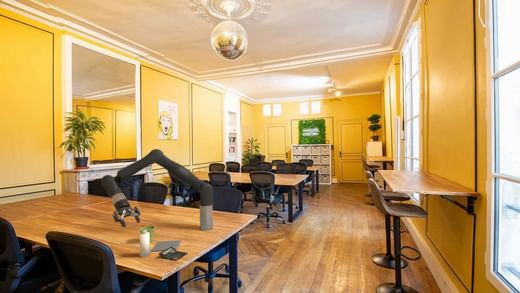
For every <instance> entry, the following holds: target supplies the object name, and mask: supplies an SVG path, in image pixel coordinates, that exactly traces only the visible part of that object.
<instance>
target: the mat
mask: <svg viewBox="0 0 520 293" xmlns="http://www.w3.org/2000/svg"><path fill="white" fill-rule="evenodd" d="M181 242H182V240H181V239H180V240H179V239H178V240H162V241H161V240H160V241H157V242H156V243H155V245H154V247H152V249H150V253H154V252H155V253H156V252H162V251H164V250H166V249H168V248H170V247H171V246H172V247H173V248H174V249H175V250H176V251H177V249H178V247H179V246H180V244H181Z"/></svg>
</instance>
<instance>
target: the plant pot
mask: <svg viewBox="0 0 520 293" xmlns="http://www.w3.org/2000/svg"><path fill="white" fill-rule="evenodd" d="M156 228H157V227H156V226H155V225H145V226H142V227H140V228H139V231H140V233H142V231H143V230H147V232H149V239H150V243H152V242H154V237H155V236H154V235H155V230H156Z"/></svg>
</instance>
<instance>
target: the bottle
mask: <svg viewBox="0 0 520 293" xmlns="http://www.w3.org/2000/svg"><path fill="white" fill-rule="evenodd" d="M138 238H139V257H140V258H147V257H149V256H150V255H151V254H150V253H151V249H150V243H151V242H150V239H149V232H147V230H143V231H142V233H141V232H140V233H139V236H138Z"/></svg>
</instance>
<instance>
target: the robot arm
mask: <svg viewBox="0 0 520 293" xmlns="http://www.w3.org/2000/svg"><path fill="white" fill-rule="evenodd" d="M153 164H156V165H158V166H160V167H162V168H164V169H165V171H167V172H168V173H170V174H171V175H172V176H173V177H174V178H176V179H178V180H179V181H180V182H183V183H185V184H186V185H188V186H191V187H192V188H193V189H194V190H196V191H197V192H198V193H199V194H200V195H199V196H200V197H199V199H200V200H199V229H200V231H210V230H213V228H214V214H213V203H214V202H213V201H214V188H213V185H212V184H210V183H208V182H205V181H204V180H202V179H200V178H199V177H197V176H196V175H195V174H194V173H193V172H192V171H191V170H189V169H188V168H187V167H185V166H183V165H182V164H180V163H178V162H176V161H175V160H172V159H171V158H169V157H168V156H167V155H166V154H164V152H163V150H161V149H160V148H156V149H155V148H154V149H152V150H150V152H148V154H146V155H144V156H143V157H142V158H140V159H138V160H136V161H135V162H132V163H130V164H128V165H126V166H125V167H123V168H121V169H118V170H117V172H116V175H115V176H112V175H110V174H107V175H103V176H102V177H101V179H100V184H101V185H102V187H103V188H104V190H105V191H106V192H107V194H108V197H109V198H110V200H111V204H112V206H113V207H114V209H115V210H114V211H113V213H112V218H113V220H114V222H115V223H120V225H121V227H122V228H125V227H126V226H127V223H126V222H125V220H124V218H129V217H132V218H135V221H136V223H137V224H139V223H141V218H140V215H141V211H140V210H139V208H138V206H134V207H131V204H130V202H129V201H128V199H127V197H126V196H125V194H124V192H123V191H122V189H121V188H120V187H119V186H120V185H121V184H122V183H123V182H125V180H127V179H128V178H130V177H132V176H134V175H136V174H137V173H139V172H140V171H142V170H145V168H147V167H150V166H152V165H153ZM118 215H119V216H118Z"/></svg>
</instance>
